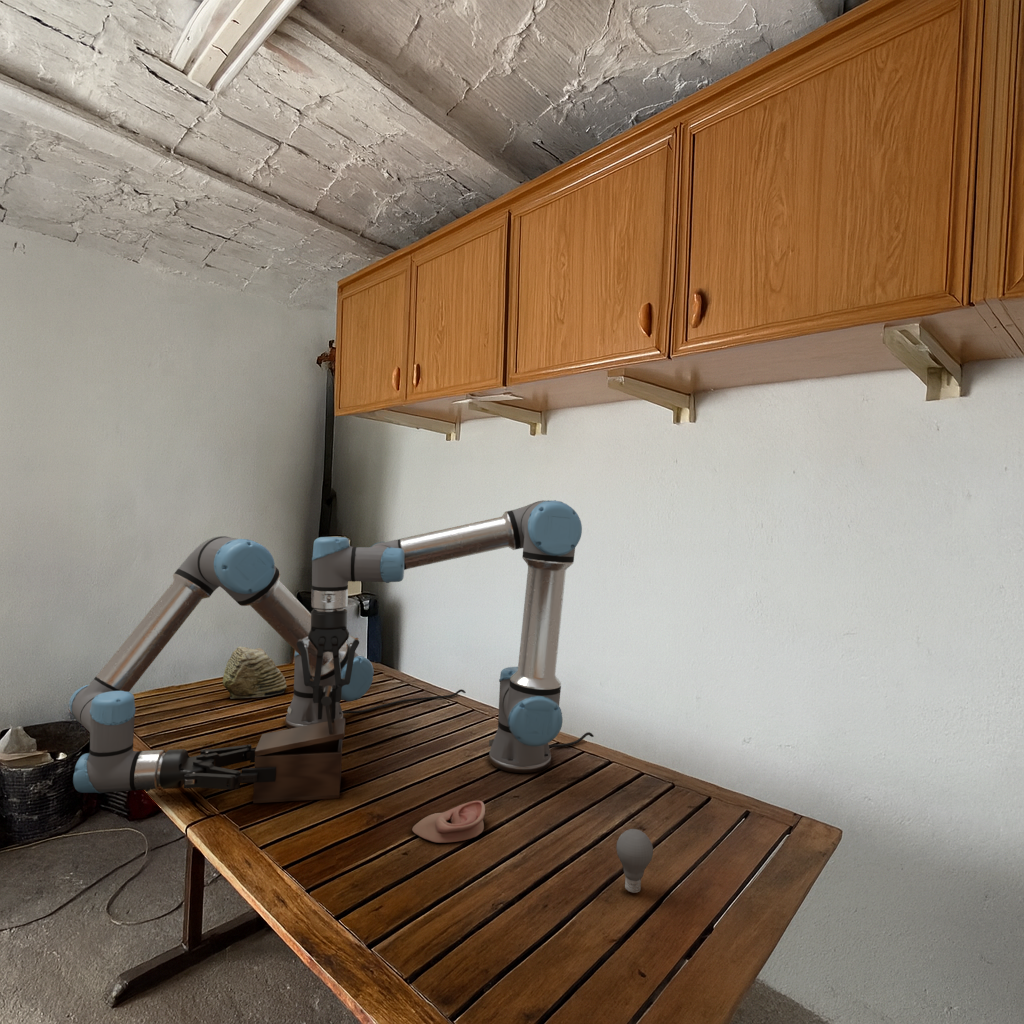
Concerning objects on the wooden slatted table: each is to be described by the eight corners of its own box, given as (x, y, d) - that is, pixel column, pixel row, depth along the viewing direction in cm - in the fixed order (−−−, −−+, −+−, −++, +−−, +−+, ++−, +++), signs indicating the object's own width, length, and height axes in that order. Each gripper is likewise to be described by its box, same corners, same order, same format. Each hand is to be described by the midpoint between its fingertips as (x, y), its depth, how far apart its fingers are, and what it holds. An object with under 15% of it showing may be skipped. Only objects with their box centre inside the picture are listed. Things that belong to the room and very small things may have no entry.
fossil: (218, 695, 195) (220, 647, 195) (278, 685, 208) (279, 640, 207) (228, 703, 189) (230, 653, 188) (289, 692, 201) (290, 645, 201)
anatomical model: (406, 817, 119) (427, 790, 130) (406, 838, 119) (426, 809, 130) (475, 827, 116) (490, 799, 127) (474, 849, 116) (489, 818, 127)
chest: (340, 778, 143) (342, 736, 142) (339, 798, 133) (341, 753, 133) (260, 782, 139) (262, 739, 139) (253, 803, 130) (254, 756, 129)
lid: (345, 722, 143) (340, 682, 142) (344, 738, 133) (338, 695, 133) (262, 739, 139) (256, 697, 138) (255, 756, 129) (248, 712, 129)
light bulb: (610, 879, 108) (613, 822, 108) (644, 879, 109) (647, 822, 109) (619, 902, 102) (622, 840, 102) (655, 901, 103) (658, 840, 103)
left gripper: (178, 765, 141) (284, 760, 146) (144, 814, 119) (270, 806, 124) (179, 731, 141) (285, 727, 146) (146, 774, 119) (272, 768, 124)
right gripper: (290, 612, 131) (287, 724, 132) (365, 611, 135) (362, 721, 135) (294, 606, 138) (292, 712, 139) (365, 605, 142) (362, 709, 142)
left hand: (278, 763), depth 135 cm, fingers closed on chest, 9 cm apart
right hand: (326, 716), depth 137 cm, fingers closed on lid, 2 cm apart
